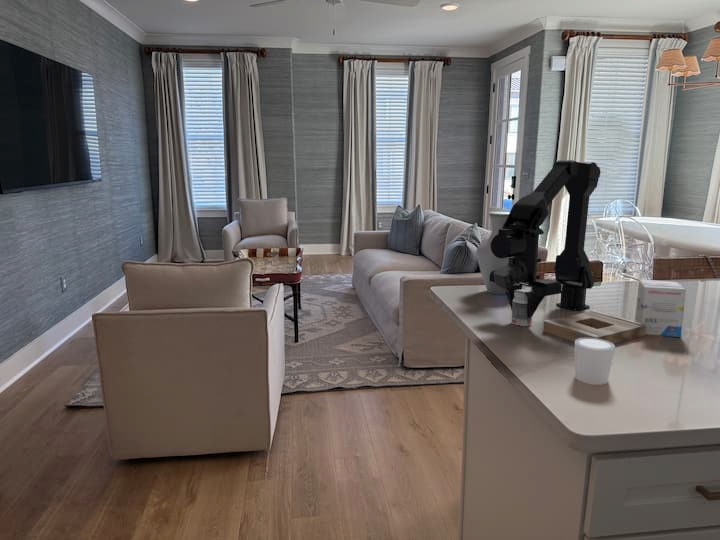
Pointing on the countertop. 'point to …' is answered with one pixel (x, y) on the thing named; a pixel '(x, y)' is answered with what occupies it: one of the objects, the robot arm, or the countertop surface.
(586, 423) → the countertop surface
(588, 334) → the walnut jig
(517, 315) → the pill bottle
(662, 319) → the ink box
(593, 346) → the white short tapered cylinder
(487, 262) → the vase
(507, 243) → the robot arm
